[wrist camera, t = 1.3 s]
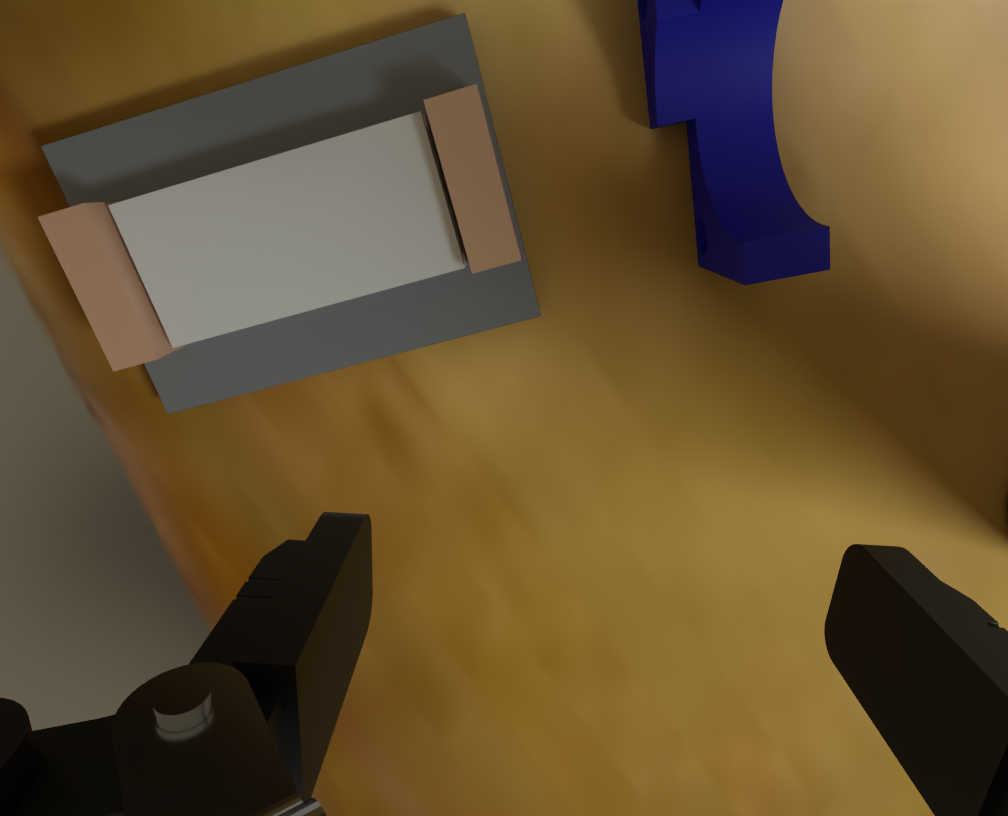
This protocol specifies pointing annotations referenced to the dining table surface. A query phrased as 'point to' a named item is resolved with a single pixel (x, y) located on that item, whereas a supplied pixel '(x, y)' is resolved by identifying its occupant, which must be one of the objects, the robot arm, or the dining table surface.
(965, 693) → the robot arm
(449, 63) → the rail board
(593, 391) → the dining table surface
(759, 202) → the blue curved block
